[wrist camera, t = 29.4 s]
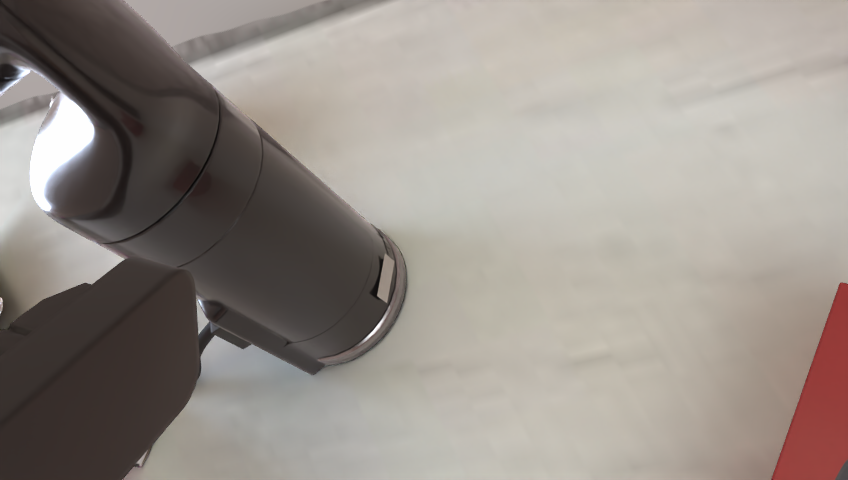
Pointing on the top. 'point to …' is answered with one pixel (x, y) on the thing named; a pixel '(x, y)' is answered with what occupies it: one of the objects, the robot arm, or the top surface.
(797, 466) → the long red slab
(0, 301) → the pouch
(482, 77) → the top surface
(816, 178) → the top surface
